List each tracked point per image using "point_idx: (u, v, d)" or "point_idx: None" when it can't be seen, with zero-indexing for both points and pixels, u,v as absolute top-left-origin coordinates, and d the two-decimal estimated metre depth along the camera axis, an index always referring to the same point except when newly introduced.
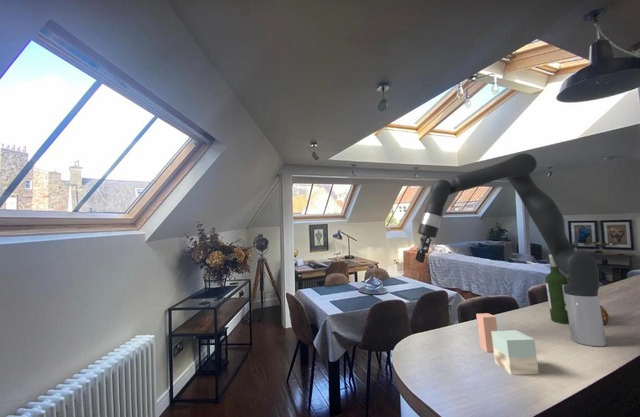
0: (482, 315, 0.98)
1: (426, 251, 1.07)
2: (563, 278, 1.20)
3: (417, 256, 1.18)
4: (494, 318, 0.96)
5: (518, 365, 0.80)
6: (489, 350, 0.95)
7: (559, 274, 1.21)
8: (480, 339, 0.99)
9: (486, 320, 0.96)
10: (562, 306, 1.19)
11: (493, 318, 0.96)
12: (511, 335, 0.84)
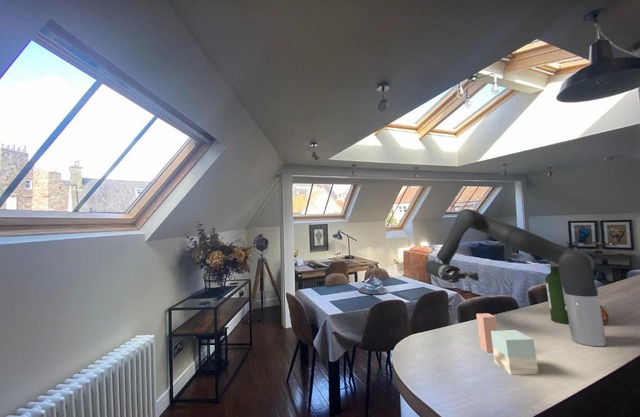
0: (482, 315, 0.98)
1: (444, 276, 1.16)
2: None
3: (474, 278, 1.12)
4: (494, 318, 0.96)
5: (518, 365, 0.80)
6: (489, 350, 0.95)
7: (559, 274, 1.21)
8: (480, 339, 0.99)
9: (486, 320, 0.96)
10: (562, 306, 1.19)
11: (493, 318, 0.96)
12: (510, 335, 0.84)
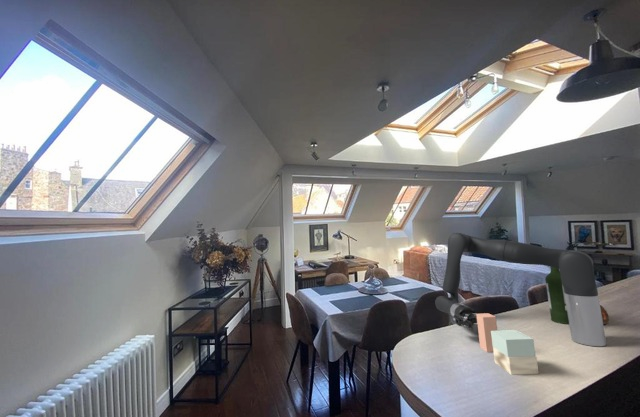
0: (482, 315, 0.98)
1: (458, 320, 1.06)
2: None
3: None
4: (494, 318, 0.96)
5: (518, 365, 0.80)
6: (489, 350, 0.95)
7: (559, 274, 1.21)
8: (480, 339, 0.99)
9: (486, 320, 0.96)
10: (562, 306, 1.19)
11: (493, 318, 0.96)
12: (510, 335, 0.84)
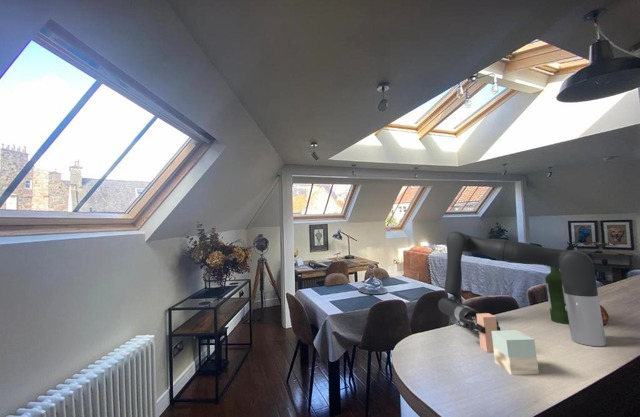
0: (482, 315, 0.98)
1: (469, 324, 1.00)
2: None
3: None
4: (494, 318, 0.96)
5: (518, 365, 0.80)
6: (489, 350, 0.95)
7: (559, 274, 1.21)
8: (480, 339, 0.99)
9: (486, 320, 0.96)
10: (562, 306, 1.19)
11: (493, 318, 0.96)
12: (511, 335, 0.84)
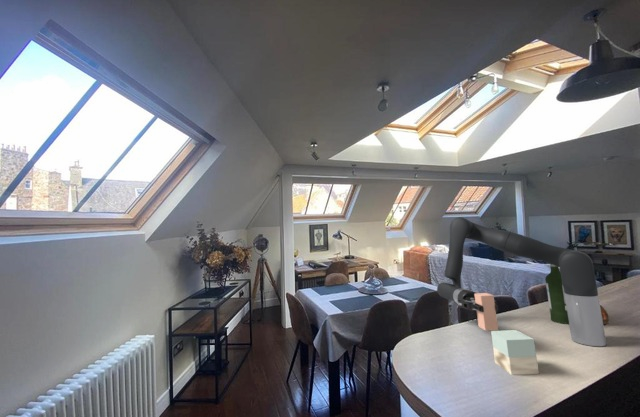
0: (480, 294, 0.99)
1: (467, 304, 1.01)
2: None
3: None
4: (492, 297, 0.97)
5: (518, 365, 0.80)
6: (487, 328, 0.96)
7: (559, 274, 1.21)
8: (478, 318, 0.99)
9: (484, 299, 0.97)
10: (562, 306, 1.19)
11: (491, 297, 0.97)
12: (511, 335, 0.84)
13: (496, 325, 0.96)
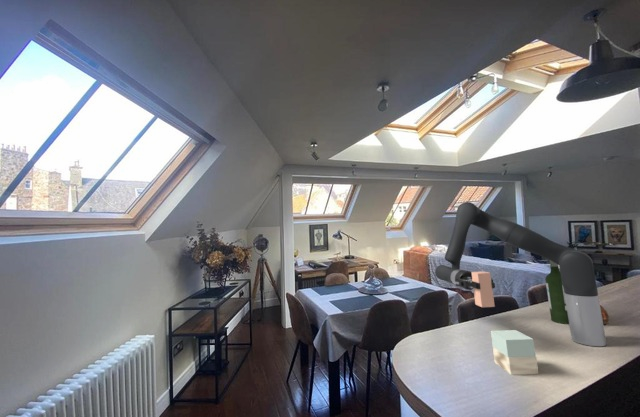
0: (477, 272, 1.00)
1: (464, 282, 1.02)
2: None
3: None
4: (489, 274, 0.98)
5: (518, 365, 0.80)
6: (484, 305, 0.97)
7: (559, 274, 1.21)
8: (475, 296, 1.00)
9: (481, 276, 0.98)
10: (562, 306, 1.19)
11: (488, 274, 0.98)
12: (510, 335, 0.84)
13: (492, 302, 0.97)
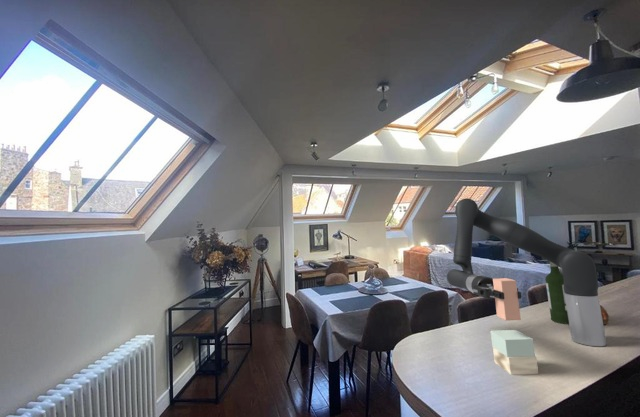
0: (500, 279, 0.86)
1: (484, 291, 0.88)
2: None
3: None
4: (514, 282, 0.84)
5: (518, 365, 0.80)
6: (508, 318, 0.83)
7: (559, 274, 1.21)
8: (497, 307, 0.87)
9: (505, 284, 0.84)
10: (562, 306, 1.19)
11: (513, 282, 0.84)
12: (510, 335, 0.84)
13: (518, 314, 0.83)
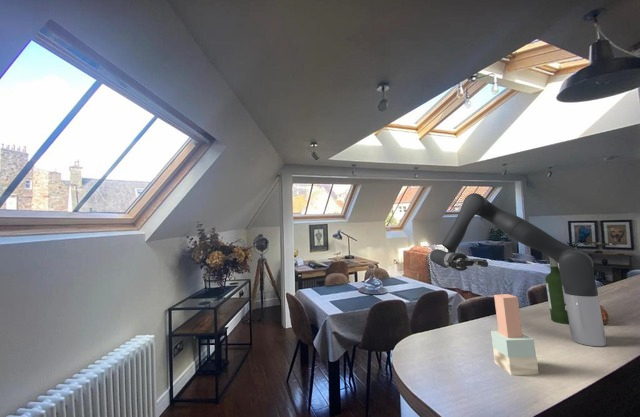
0: (501, 296, 0.85)
1: (450, 262, 1.08)
2: None
3: (483, 265, 1.04)
4: (516, 299, 0.83)
5: (518, 365, 0.80)
6: (510, 335, 0.82)
7: (559, 274, 1.21)
8: (499, 323, 0.86)
9: (507, 301, 0.83)
10: (562, 306, 1.19)
11: (515, 299, 0.83)
12: None
13: (520, 332, 0.82)
